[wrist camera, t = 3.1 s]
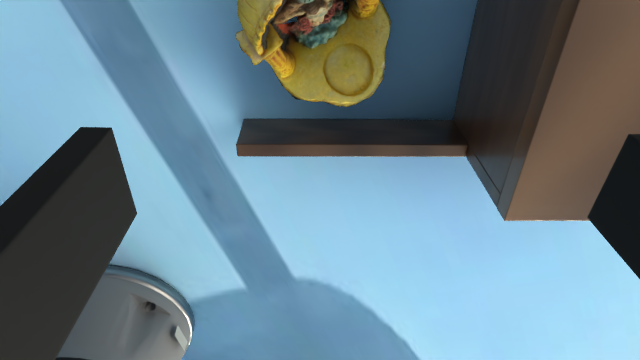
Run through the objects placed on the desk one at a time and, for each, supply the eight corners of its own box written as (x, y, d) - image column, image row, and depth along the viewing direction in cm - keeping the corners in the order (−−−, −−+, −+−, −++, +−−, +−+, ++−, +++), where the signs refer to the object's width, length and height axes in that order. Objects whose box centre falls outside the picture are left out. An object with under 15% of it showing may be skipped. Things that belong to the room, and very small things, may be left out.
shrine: (236, -77, 24) (158, -54, 12) (373, -114, 24) (441, -130, 11) (287, 100, 31) (270, 236, 18) (396, 76, 30) (456, 203, 17)
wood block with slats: (245, 130, 32) (218, 221, 23) (214, -174, 22) (146, -226, 13) (625, 131, 33) (747, 220, 24) (766, -164, 23) (1075, -206, 13)
